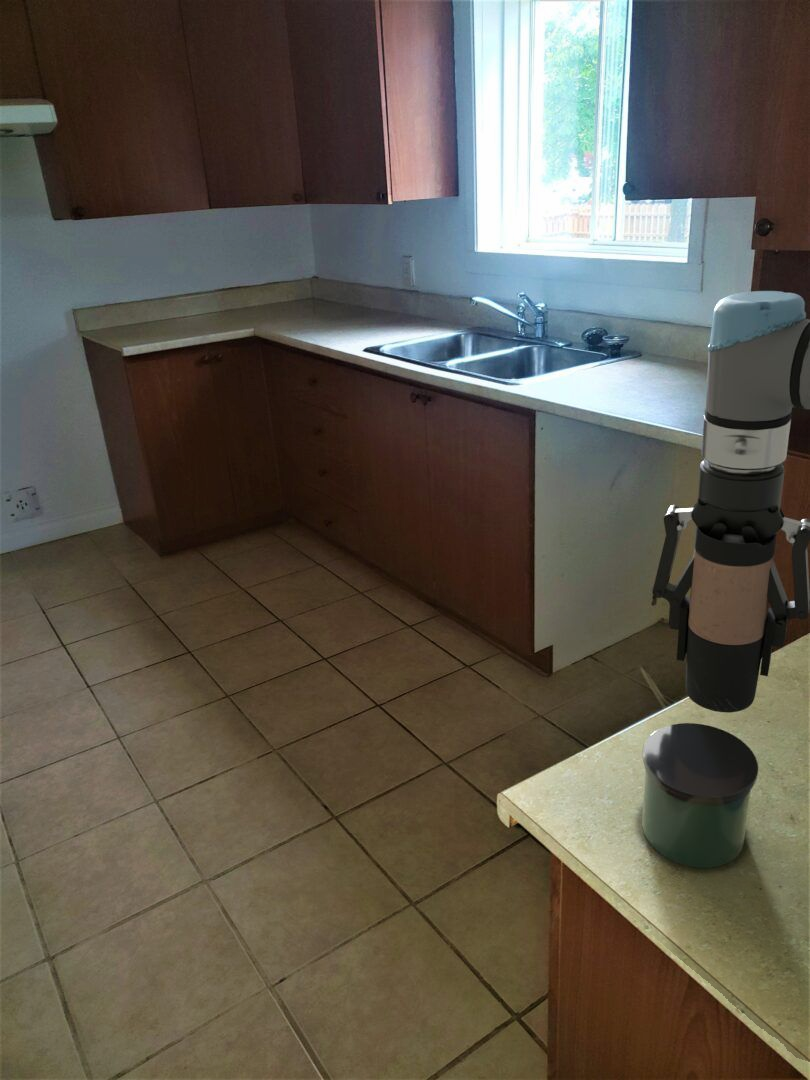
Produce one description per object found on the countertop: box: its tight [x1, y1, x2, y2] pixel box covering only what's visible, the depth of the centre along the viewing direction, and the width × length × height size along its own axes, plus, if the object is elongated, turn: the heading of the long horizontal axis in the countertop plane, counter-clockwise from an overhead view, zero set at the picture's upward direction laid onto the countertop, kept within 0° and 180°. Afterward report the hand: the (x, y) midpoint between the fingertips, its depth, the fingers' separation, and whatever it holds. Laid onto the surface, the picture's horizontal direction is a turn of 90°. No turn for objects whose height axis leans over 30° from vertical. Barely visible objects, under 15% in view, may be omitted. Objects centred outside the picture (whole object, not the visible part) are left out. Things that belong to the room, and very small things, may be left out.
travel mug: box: [685, 526, 778, 713], centre depth 85 cm, size 8×8×20 cm
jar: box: [641, 722, 759, 869], centre depth 83 cm, size 11×11×10 cm
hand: (722, 660), depth 88 cm, fingers closed on travel mug, 8 cm apart
